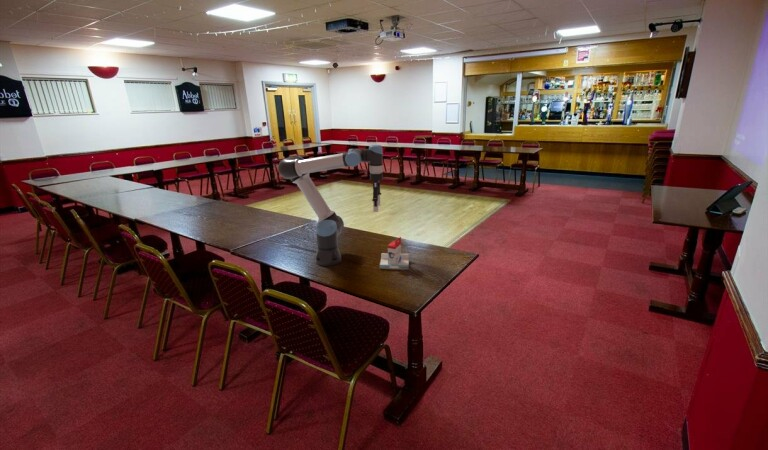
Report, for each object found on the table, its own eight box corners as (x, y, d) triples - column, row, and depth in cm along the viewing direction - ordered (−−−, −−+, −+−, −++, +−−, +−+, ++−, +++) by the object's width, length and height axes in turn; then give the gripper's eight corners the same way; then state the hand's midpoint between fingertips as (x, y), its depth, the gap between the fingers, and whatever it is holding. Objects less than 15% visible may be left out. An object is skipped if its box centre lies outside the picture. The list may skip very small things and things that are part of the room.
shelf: (379, 269, 201) (379, 261, 199) (381, 260, 212) (381, 253, 211) (408, 269, 200) (408, 262, 198) (408, 260, 211) (408, 253, 210)
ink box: (393, 259, 210) (393, 235, 205) (401, 260, 208) (401, 236, 203) (387, 264, 203) (387, 240, 198) (395, 266, 201) (395, 241, 196)
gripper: (381, 176, 195) (381, 214, 201) (384, 169, 218) (384, 203, 225) (367, 176, 195) (368, 214, 202) (372, 169, 219) (372, 203, 225)
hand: (376, 208), depth 213 cm, fingers open, 13 cm apart
